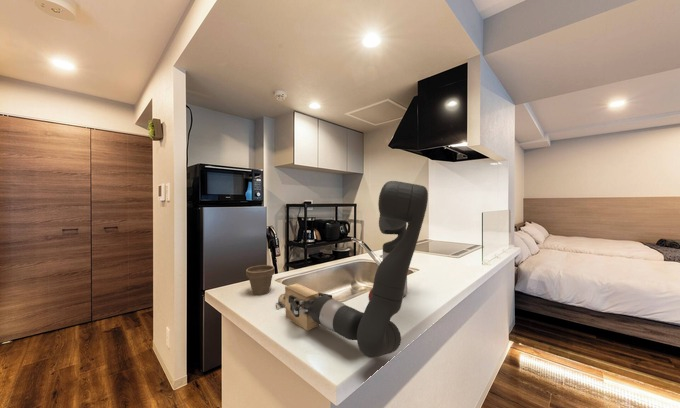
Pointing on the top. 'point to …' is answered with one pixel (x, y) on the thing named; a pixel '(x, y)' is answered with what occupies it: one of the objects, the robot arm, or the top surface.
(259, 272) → the flower pot
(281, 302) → the vase
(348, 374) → the top surface
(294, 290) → the brown rectangular block
